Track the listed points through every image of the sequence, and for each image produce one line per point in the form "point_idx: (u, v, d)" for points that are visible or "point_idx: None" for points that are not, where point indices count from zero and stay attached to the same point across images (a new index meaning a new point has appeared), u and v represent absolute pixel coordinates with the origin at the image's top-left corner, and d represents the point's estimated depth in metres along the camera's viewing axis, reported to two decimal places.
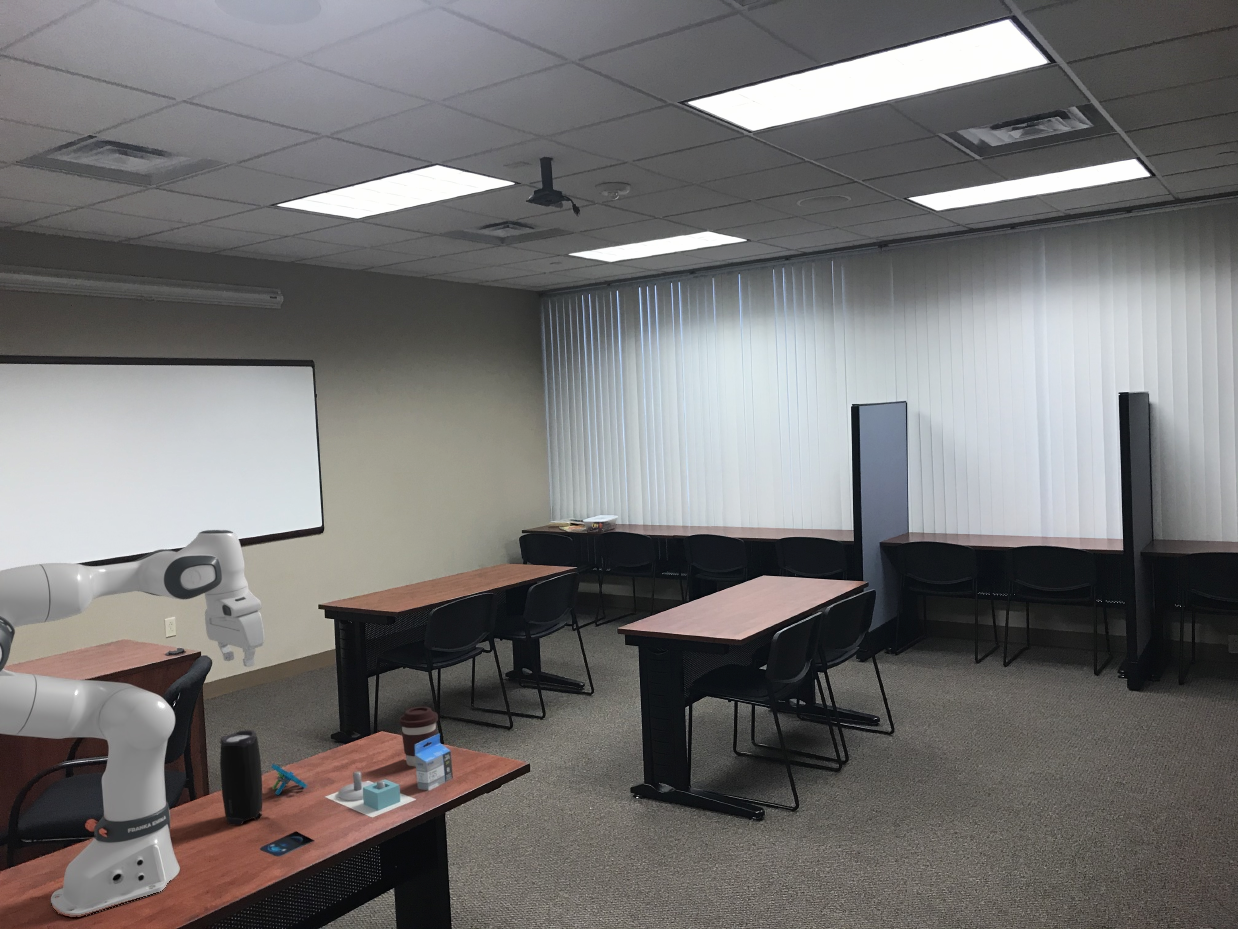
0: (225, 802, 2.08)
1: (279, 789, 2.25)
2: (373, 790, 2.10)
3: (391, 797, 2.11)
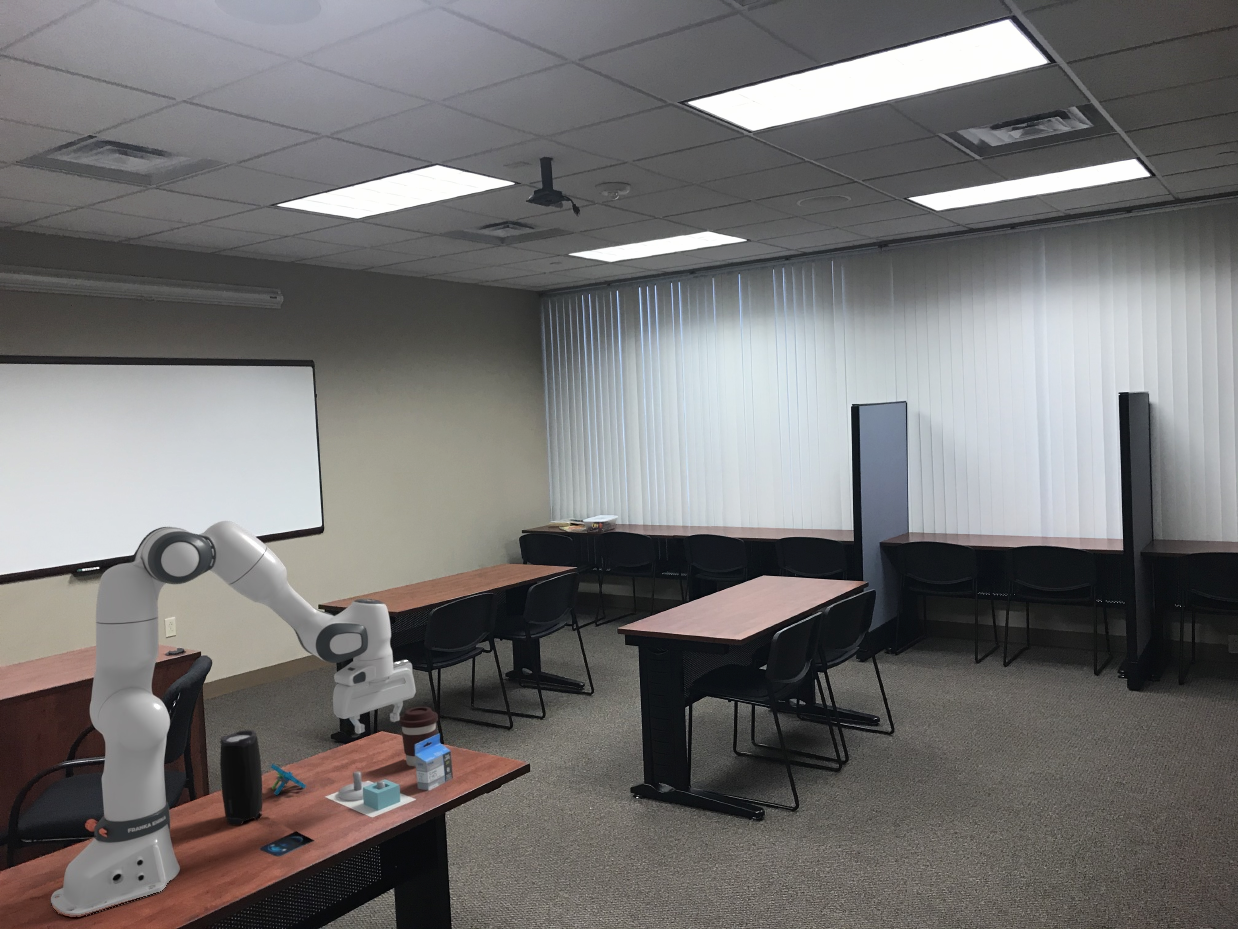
0: (225, 802, 2.08)
1: (278, 789, 2.25)
2: (373, 790, 2.10)
3: (391, 797, 2.11)
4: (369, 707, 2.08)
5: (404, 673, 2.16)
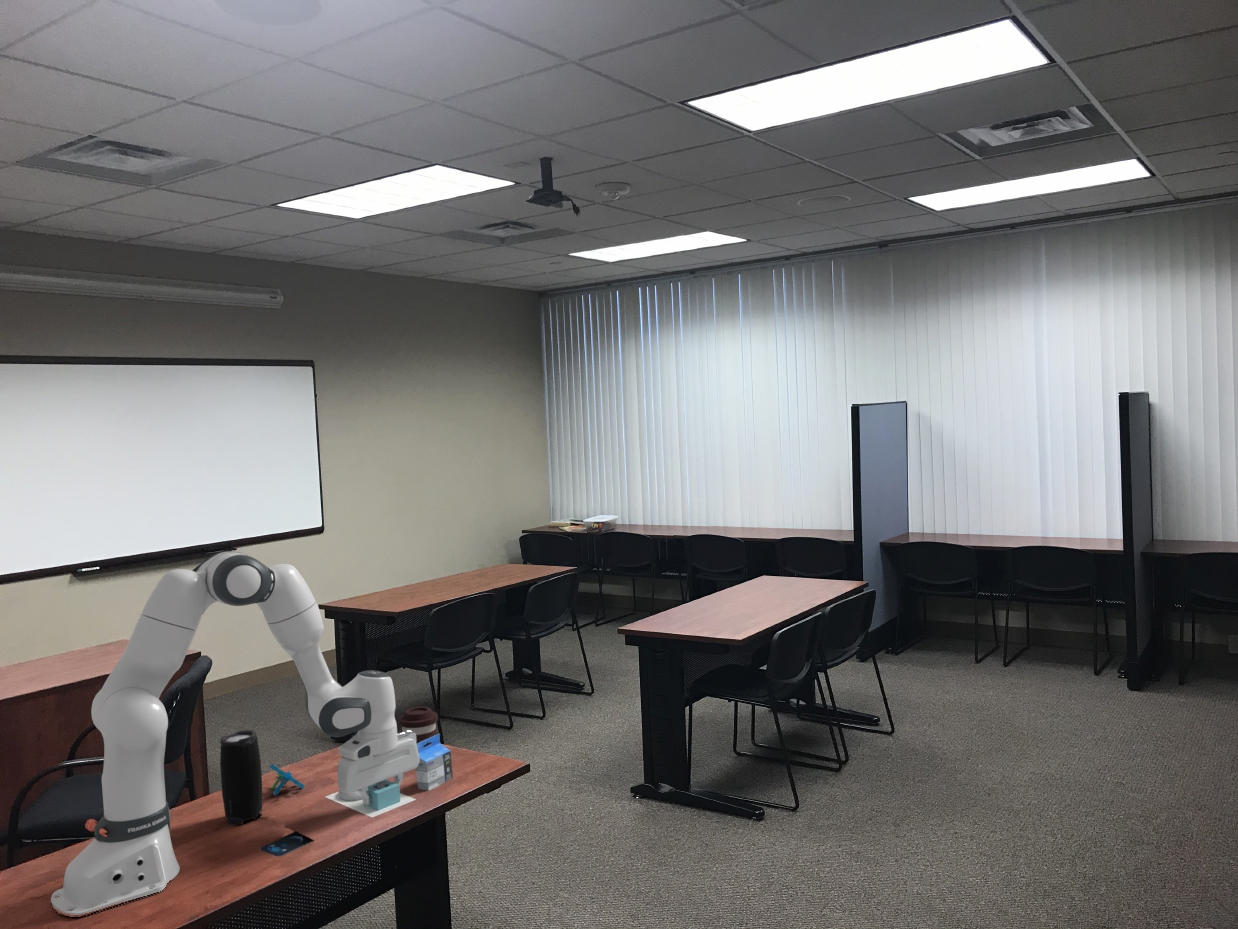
0: (225, 802, 2.08)
1: (277, 789, 2.25)
2: (373, 790, 2.10)
3: (391, 797, 2.11)
4: (373, 780, 2.09)
5: (408, 744, 2.16)
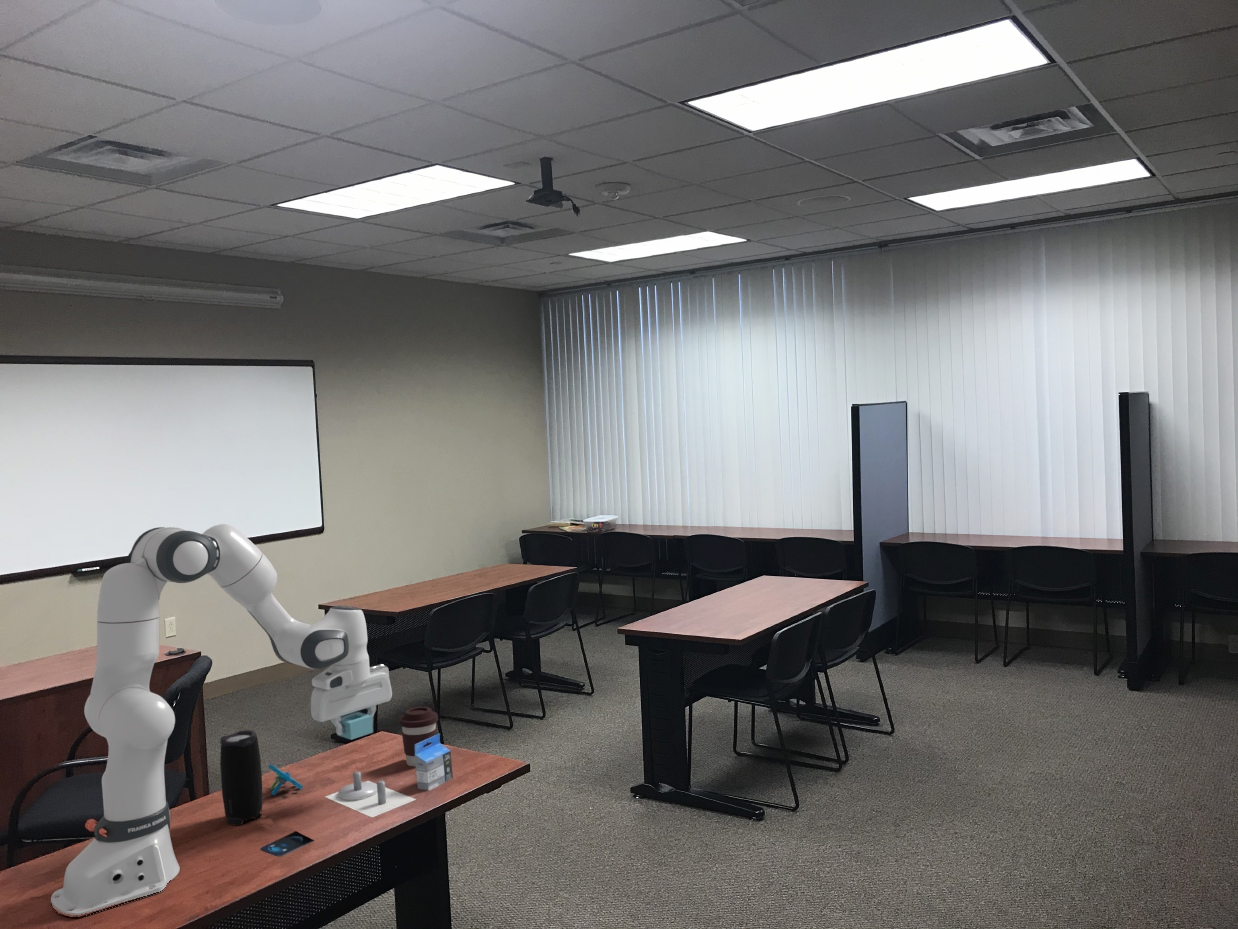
0: (225, 802, 2.08)
1: (275, 789, 2.25)
2: (346, 720, 2.16)
3: (364, 727, 2.17)
4: (346, 710, 2.15)
5: (381, 677, 2.22)
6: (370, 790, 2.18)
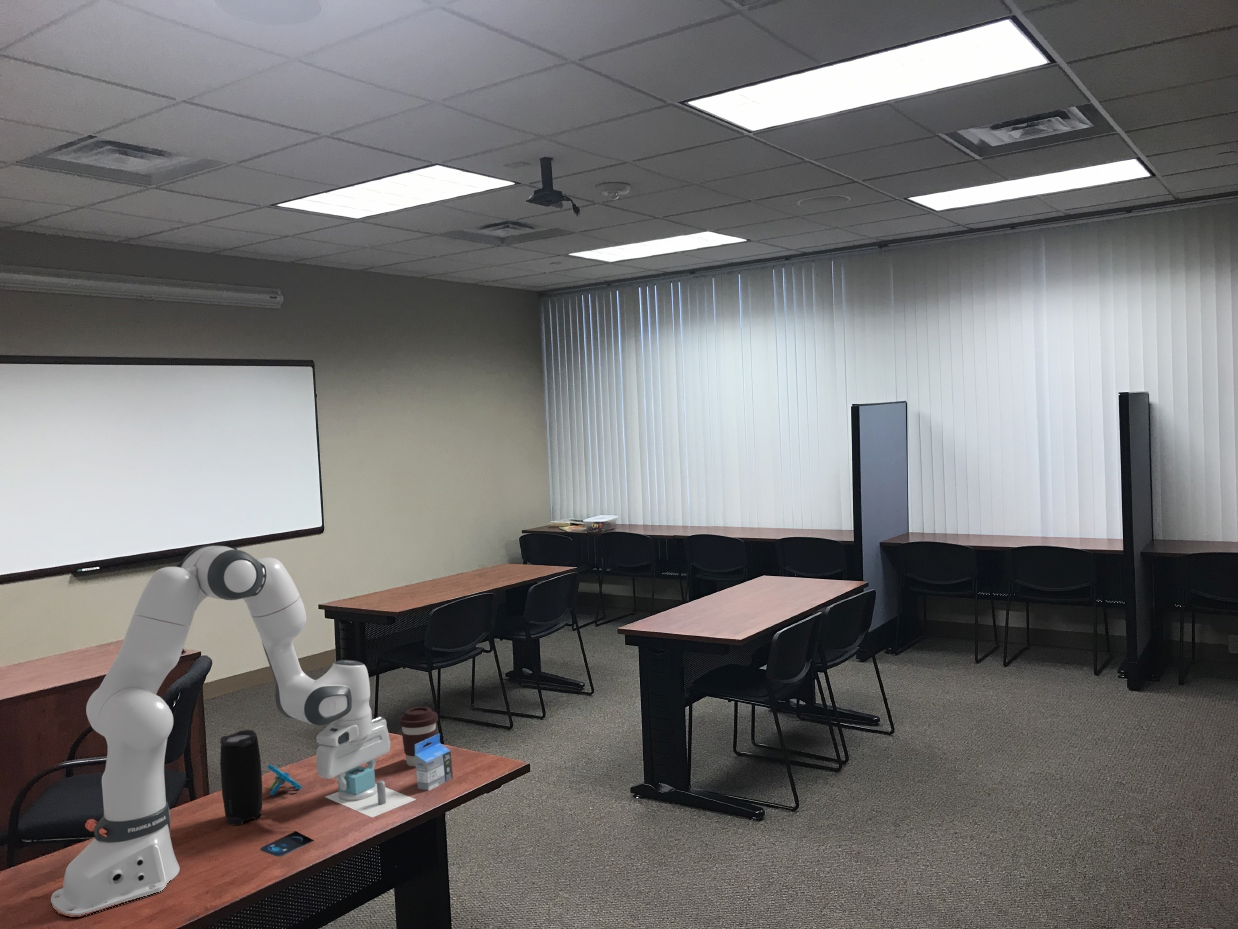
0: (225, 802, 2.08)
1: (274, 790, 2.25)
2: (350, 775, 2.17)
3: (367, 781, 2.19)
4: (351, 765, 2.16)
5: (381, 730, 2.24)
6: (370, 790, 2.18)
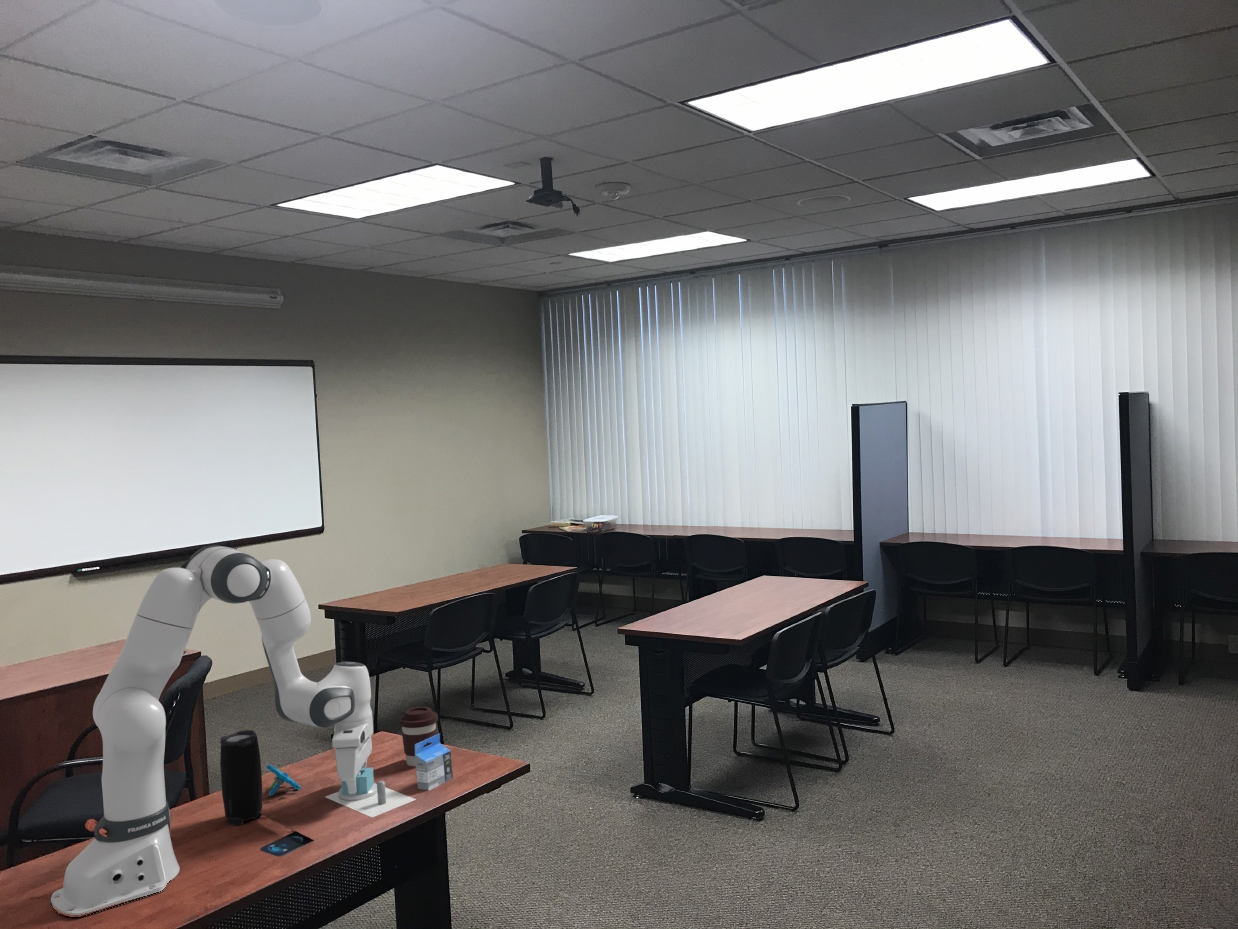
0: (225, 802, 2.08)
1: (273, 790, 2.25)
2: (357, 776, 2.17)
3: (371, 779, 2.20)
4: (361, 765, 2.16)
5: None
6: (370, 790, 2.18)
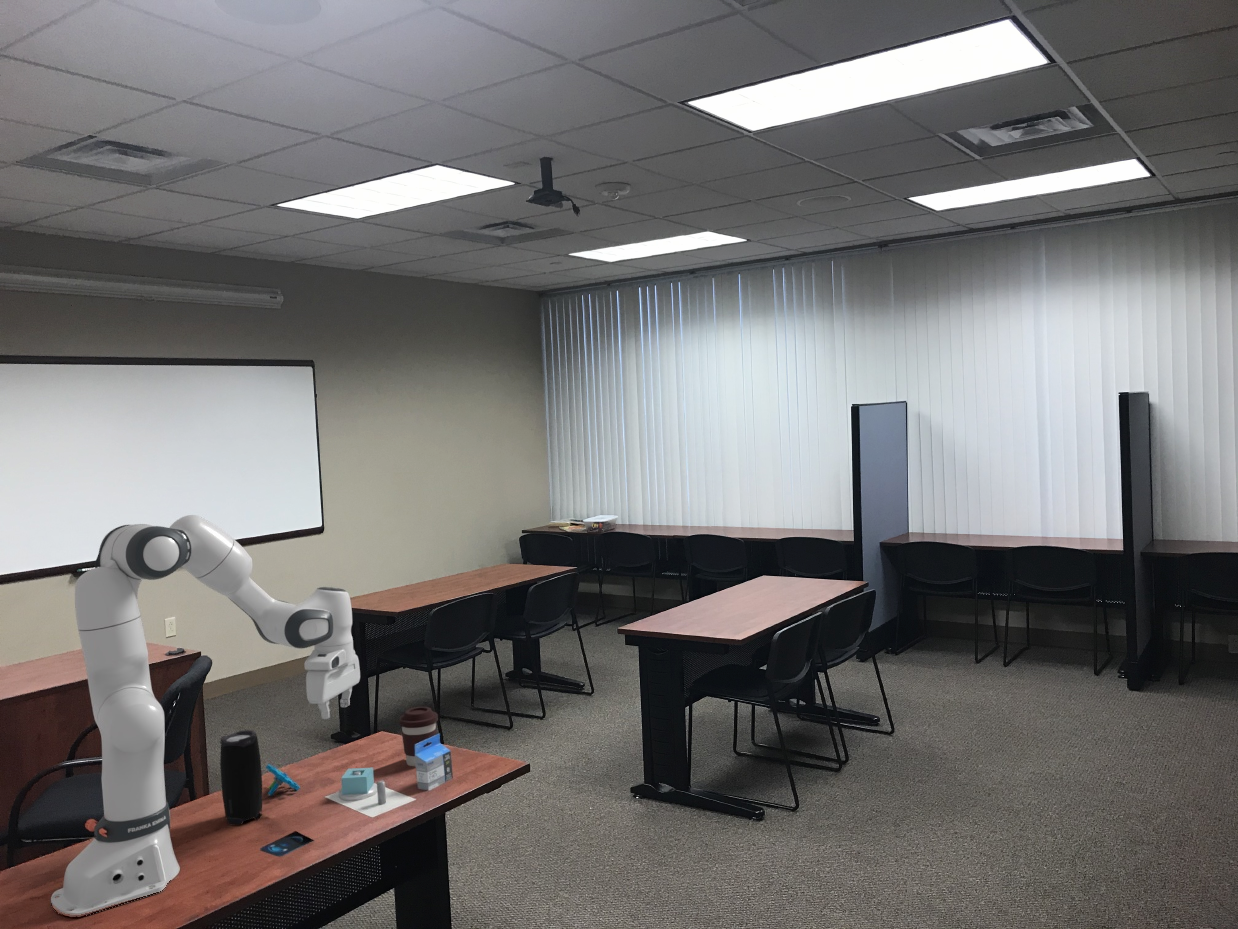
0: (225, 802, 2.08)
1: (272, 790, 2.25)
2: (357, 776, 2.17)
3: (371, 779, 2.20)
4: (336, 692, 2.14)
5: (354, 659, 2.24)
6: (370, 790, 2.18)
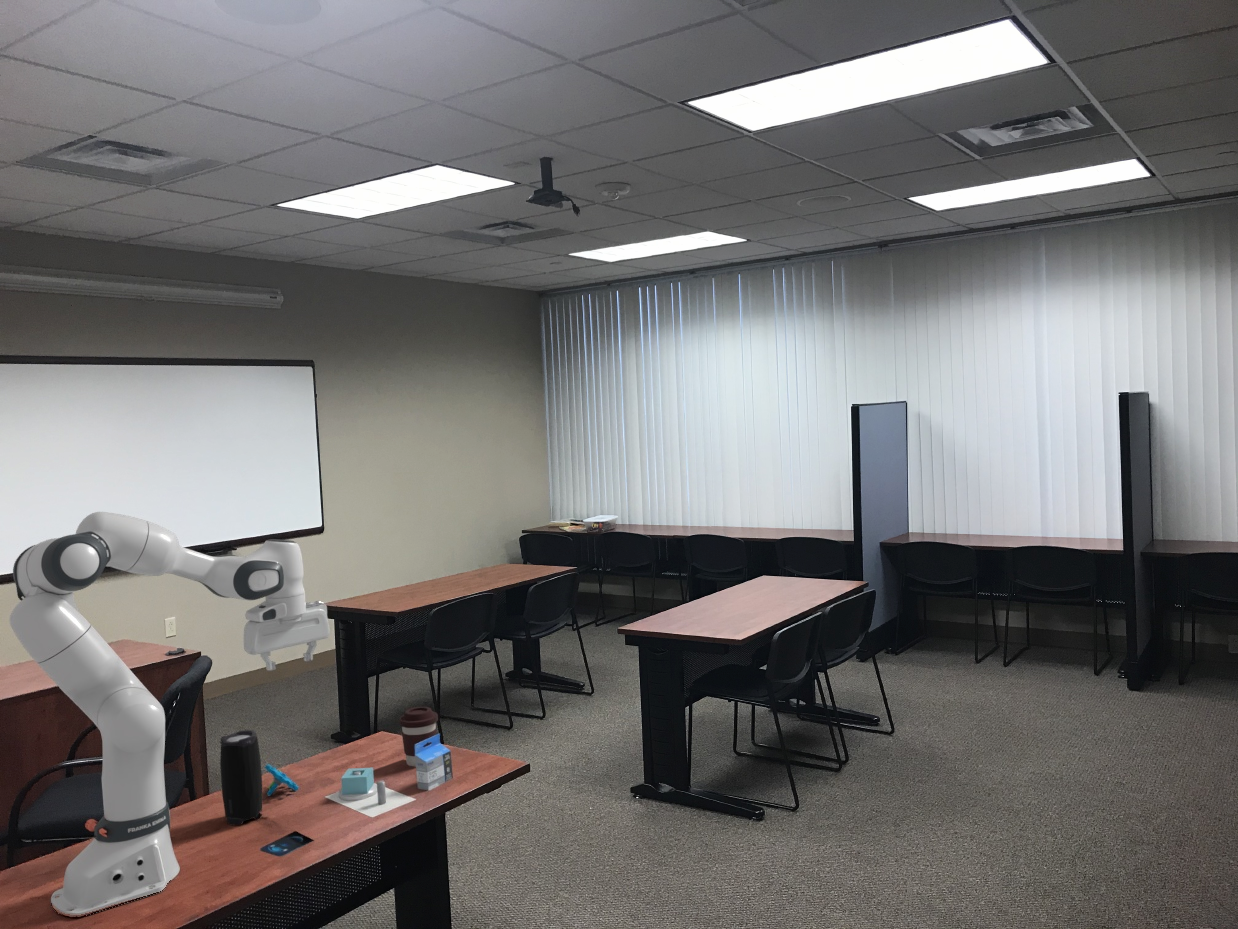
0: (225, 802, 2.08)
1: (270, 790, 2.25)
2: (357, 776, 2.17)
3: (371, 779, 2.20)
4: (280, 644, 2.12)
5: (318, 613, 2.19)
6: (370, 790, 2.18)
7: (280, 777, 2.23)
